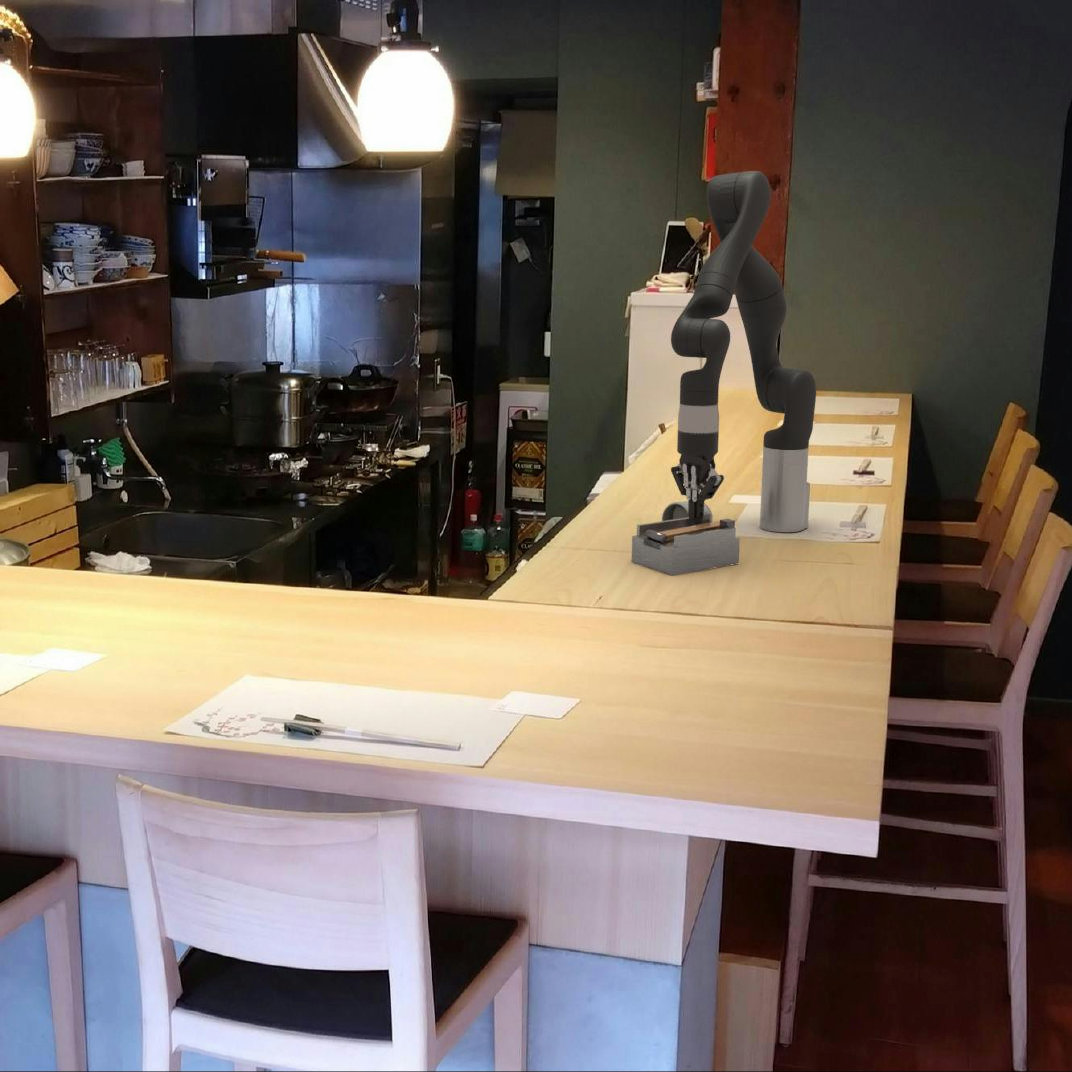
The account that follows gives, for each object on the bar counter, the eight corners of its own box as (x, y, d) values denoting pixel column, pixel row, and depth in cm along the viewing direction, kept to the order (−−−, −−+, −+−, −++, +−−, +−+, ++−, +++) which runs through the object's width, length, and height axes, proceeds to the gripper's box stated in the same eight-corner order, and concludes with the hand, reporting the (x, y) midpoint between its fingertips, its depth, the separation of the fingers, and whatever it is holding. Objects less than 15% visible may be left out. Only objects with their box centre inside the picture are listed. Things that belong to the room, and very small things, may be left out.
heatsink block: (697, 550, 262) (698, 510, 260) (738, 563, 252) (740, 522, 250) (631, 561, 253) (632, 520, 251) (671, 575, 243) (673, 532, 241)
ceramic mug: (715, 536, 274) (715, 499, 272) (690, 543, 268) (690, 505, 266) (674, 529, 281) (674, 493, 279) (648, 535, 275) (649, 498, 274)
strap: (715, 525, 258) (715, 517, 257) (730, 529, 254) (730, 521, 254) (645, 538, 249) (645, 530, 248) (660, 543, 245) (660, 534, 245)
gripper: (737, 431, 244) (734, 524, 248) (690, 422, 255) (688, 511, 259) (706, 434, 240) (703, 529, 244) (659, 425, 251) (657, 516, 255)
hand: (695, 519), depth 252 cm, fingers closed
